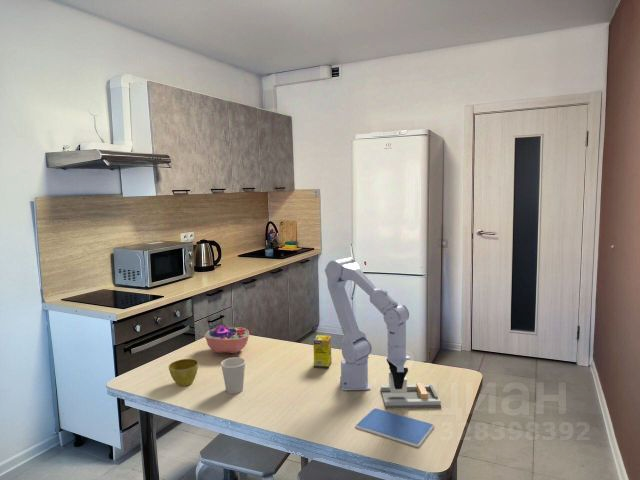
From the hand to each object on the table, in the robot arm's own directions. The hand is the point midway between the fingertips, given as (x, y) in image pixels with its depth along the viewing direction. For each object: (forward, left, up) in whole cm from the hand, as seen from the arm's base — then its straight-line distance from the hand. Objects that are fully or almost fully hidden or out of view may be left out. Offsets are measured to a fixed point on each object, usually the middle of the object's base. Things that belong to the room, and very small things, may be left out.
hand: (397, 384), depth 143 cm
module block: (0, 0, -2) cm, 2 cm away
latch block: (+8, 0, -5) cm, 9 cm away
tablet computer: (-3, -17, -5) cm, 18 cm away
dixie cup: (-54, +8, -5) cm, 55 cm away
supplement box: (-24, +28, -5) cm, 37 cm away
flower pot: (-73, +14, -5) cm, 74 cm away
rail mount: (+4, 0, -5) cm, 6 cm away
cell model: (-64, +44, -5) cm, 78 cm away
